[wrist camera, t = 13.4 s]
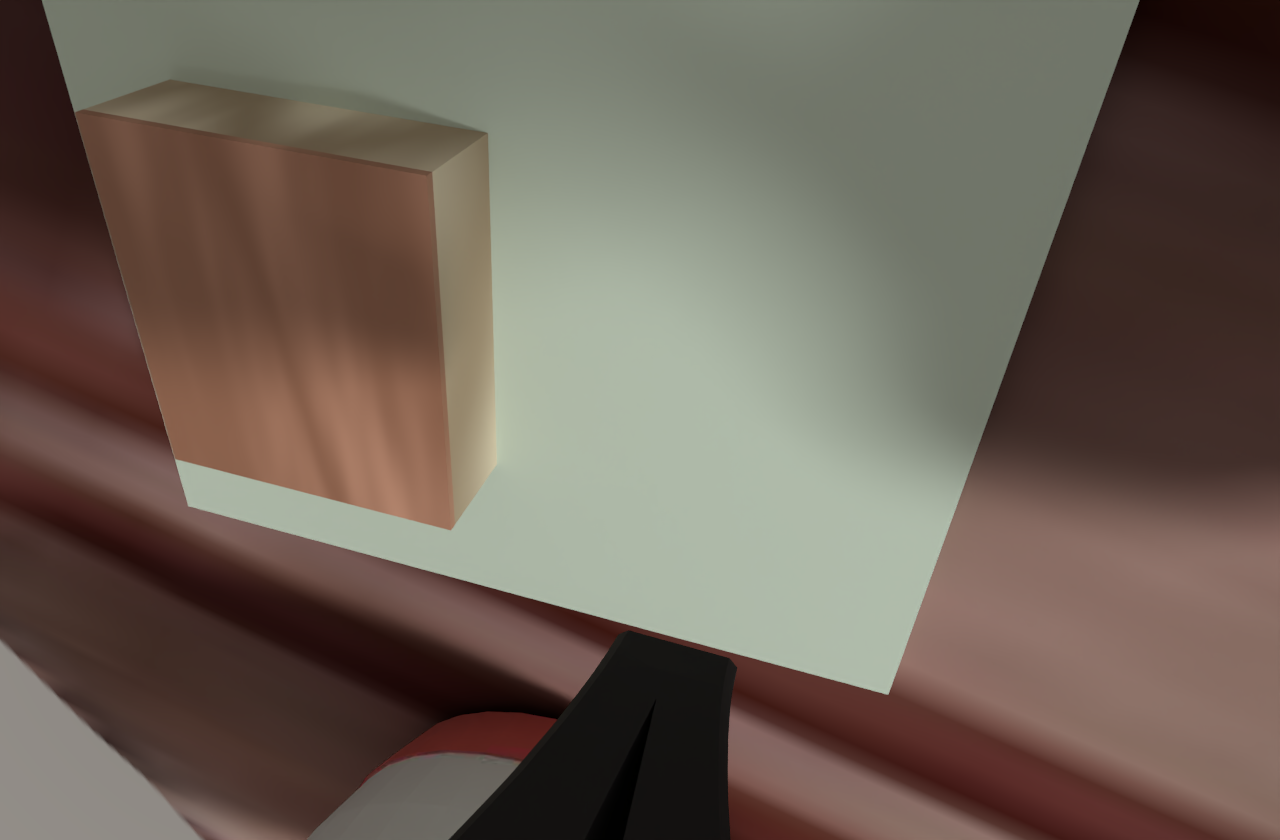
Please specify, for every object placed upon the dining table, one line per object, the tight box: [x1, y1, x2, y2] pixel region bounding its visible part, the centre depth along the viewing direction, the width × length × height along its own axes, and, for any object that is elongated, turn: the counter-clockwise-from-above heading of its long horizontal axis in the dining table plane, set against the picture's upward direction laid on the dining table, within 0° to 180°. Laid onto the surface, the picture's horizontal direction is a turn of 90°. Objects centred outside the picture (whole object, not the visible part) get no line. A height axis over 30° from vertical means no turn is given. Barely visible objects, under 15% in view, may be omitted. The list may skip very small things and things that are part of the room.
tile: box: [75, 80, 497, 530], centre depth 19 cm, size 2×8×7 cm
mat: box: [42, 0, 1140, 695], centre depth 19 cm, size 20×18×1 cm
